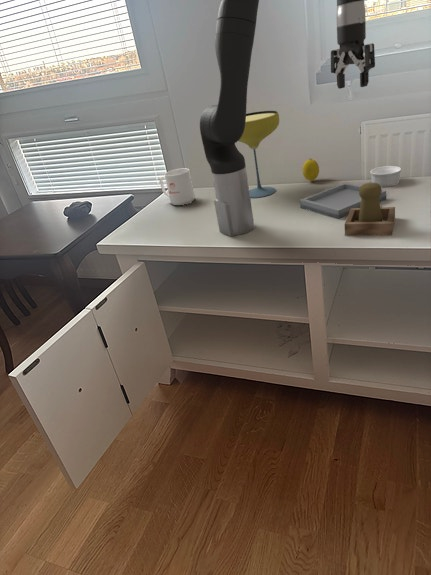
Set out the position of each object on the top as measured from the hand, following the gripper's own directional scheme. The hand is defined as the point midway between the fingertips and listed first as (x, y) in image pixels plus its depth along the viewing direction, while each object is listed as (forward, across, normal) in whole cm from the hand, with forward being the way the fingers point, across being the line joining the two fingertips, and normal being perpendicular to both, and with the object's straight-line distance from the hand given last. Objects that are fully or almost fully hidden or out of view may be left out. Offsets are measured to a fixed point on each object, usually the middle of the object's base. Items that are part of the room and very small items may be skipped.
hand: (352, 87), depth 125 cm
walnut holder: (+30, +26, -23) cm, 46 cm away
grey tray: (+29, +8, -14) cm, 34 cm away
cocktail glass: (+29, -24, -20) cm, 43 cm away
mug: (+29, -43, -42) cm, 67 cm away
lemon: (+29, -16, -4) cm, 33 cm away
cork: (+30, +26, -23) cm, 46 cm away
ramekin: (+29, +7, +6) cm, 31 cm away
